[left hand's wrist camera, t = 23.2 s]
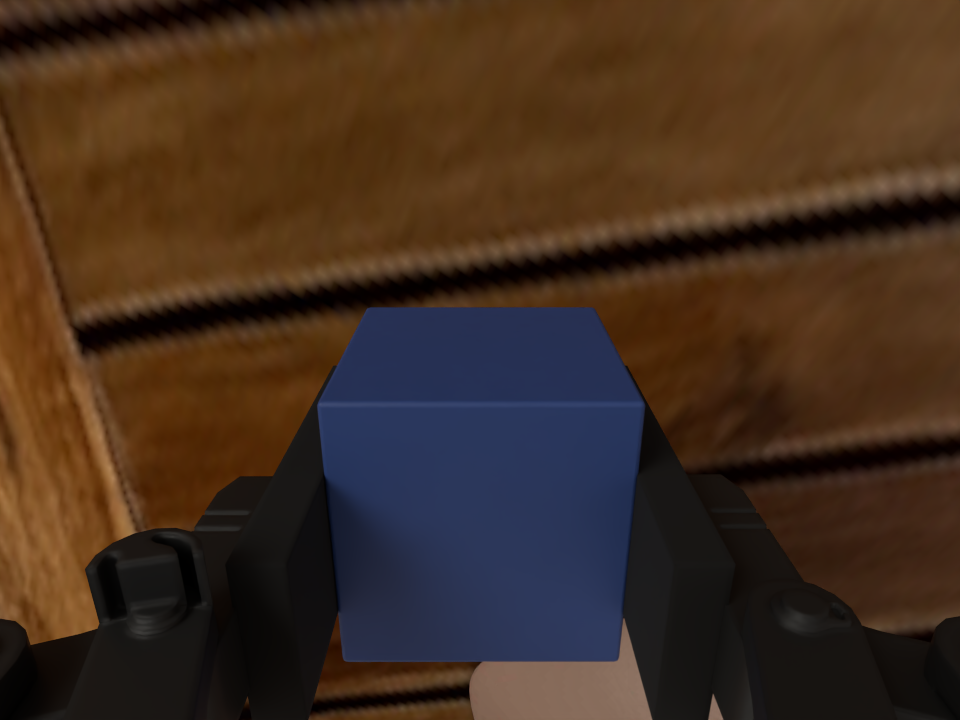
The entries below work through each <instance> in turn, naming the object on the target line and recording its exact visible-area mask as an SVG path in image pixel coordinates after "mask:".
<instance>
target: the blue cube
mask: <svg viewBox="0 0 960 720" xmlns="http://www.w3.org/2000/svg"><path fill="white" fill-rule="evenodd" d="M317 409H318V419H319V429H320V438H321V448H322V458H323V468H324V477H325V487H326V497H327V506H328V516H329V526H330V536H331V546H332V555H333V565H334V575H335V585H336V595H337V604H338V615H339V624H340V634H341V644H342V654H343V659H344V660H345V661H347V662H615V661H618V659H619V654H620V645H621V635H622V625H623V616H624V615H623V609H624V599H625V590H626V580H627V570H628V560H629V551H630V541H631V531H632V522H633V512H634V502H635V493H636V483H637V475H638V471H639V462H640V452H641V442H642V433H643V423H644V413H645V403H644V401H643V399H642V397H641V395H640V393H639V392H638V390H637V388H636V386H635V384H634V382H633V380H632V378H631V376H630V375H629V373H628V371H627V369H626V367H625V365H624V363H623V361H622V359H621V358H620V356H619V354H618V352H617V350H616V348H615V346H614V344H613V342H612V341H611V339H610V337H609V335H608V333H607V331H606V329H605V327H604V326H603V324H602V322H601V320H600V318H599V316H598V314H597V312H596V310H595V309H594V308H368V309H367V310H366V312H365V314H364V316H363V318H362V320H361V322H360V323H359V325H358V327H357V329H356V331H355V333H354V335H353V337H352V339H351V341H350V343H349V344H348V346H347V348H346V350H345V352H344V354H343V356H342V358H341V360H340V362H339V364H338V366H337V367H336V369H335V371H334V373H333V375H332V377H331V379H330V381H329V383H328V385H327V387H326V388H325V390H324V392H323V394H322V396H321V398H320V400H319V402H318V405H317Z"/></svg>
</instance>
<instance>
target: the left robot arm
mask: <svg viewBox="0 0 960 720" xmlns="http://www.w3.org/2000/svg"><path fill="white" fill-rule="evenodd" d="M336 367H337V366H333V368H332V369H331V371H330V373H329V375H328V377H327V379H326V380H325V382H324V384H323V386H322V388H321V390H320V391H319V393H318V395H317V397H316V399H315V401H314V402H313V404H312V406H311V408H310V410H309V412H308V413H307V415H306V417H305V419H304V421H303V423H302V424H301V426H300V428H299V430H298V432H297V433H296V435H295V437H294V439H293V441H292V443H291V444H290V446H289V448H288V450H287V452H286V454H285V455H284V457H283V459H282V461H281V463H280V465H279V466H278V468H277V470H276V472H275V474H274V476H240V477H239V478H237V479H236V480H234V481H233V482H232V483H230V484H229V485H228V486H226V487H225V488H223V489H222V490H221V491H219V492H218V493H217V494H216V496H215V497H214V499H213V500H212V502H211V503H210V505H209V506H208V508H207V509H206V511H205V515H202V517H201V518H200V520H199V521H198V523H197V524H196V526H195V530H194V531H192V532H190V531H186V530H182V529H178V528H158V529H152V530H148V531H143V532H139V533H135V534H132V535H130V536H128V537H125V538H123V539H121V540H118V541H116V542H114V543H112V544H111V545H109V546H108V547H107V548H105V549H104V550H102V551H101V552H100V553H98V554H97V555H95V557H94V558H93V559H92V561H91V562H90V563H89V565H88V566H87V567H86V568H85V571H86V575H87V579H88V582H89V586H90V590H91V593H92V597H93V601H94V605H95V608H96V612H97V616H98V619H99V623H100V624H99V626H98V629H95V630H92V631H88V632H85V633H82V634H78V635H73V636H69V637H65V638H60V639H56V640H51V641H47V642H43V643H38V644H34V645H30V642H29V639H28V636H27V633H26V630H25V629H24V628H23V627H22V626H21V625H19V624H18V623H17V622H16V621H11V620H5V619H0V720H239V717H240V714H241V712H242V709H243V707H244V704H245V702H246V699H247V696H248V699H249V705H250V711H251V717H252V720H308V719H309V715H310V711H311V708H312V704H313V700H314V697H315V693H316V690H317V686H318V682H319V679H320V675H321V671H322V668H323V664H324V661H325V657H326V653H327V650H328V646H329V642H330V639H331V635H332V632H333V628H334V624H335V621H336V617H337V613H338V604H337V595H336V585H335V575H334V565H333V555H332V546H331V536H330V526H329V516H328V506H327V497H326V487H325V477H324V468H323V458H322V448H321V438H320V429H319V419H318V409H317V405H318V402H319V400H320V398H321V396H322V394H323V392H324V390H325V388H326V387H327V385H328V383H329V381H330V379H331V377H332V375H333V373H334V371H335V369H336ZM625 367H626V369H627V371H628V373H629V375H630V376H631V378H632V380H633V382H634V384H635V386H636V388H637V390H638V392H639V393H640V395H641V397H642V399H643V401H644V403H645V413H644V423H643V433H642V442H641V452H640V462H639V471H638V475H637V483H636V493H635V502H634V512H633V522H632V531H631V541H630V551H629V560H628V570H627V580H626V590H625V599H624V609H623V615H624V619H625V623H626V626H627V630H628V634H629V637H630V641H631V644H632V648H633V652H634V655H635V659H636V663H637V666H638V670H639V673H640V677H641V681H642V684H643V688H644V692H645V695H646V699H647V702H648V706H649V710H650V713H651V717H652V720H708V719H709V714H710V708H711V702H712V696H713V694H714V697H715V700H716V702H717V705H718V707H719V710H720V712H721V715H722V718H723V720H960V616H959V617H953V618H946V619H945V620H944V621H943V622H941V623H940V624H939V625H938V626H937V627H936V629H935V632H934V635H933V638H932V641H931V643H930V642H925V641H921V640H917V639H912V638H908V637H903V636H899V635H895V634H890V633H886V632H881V631H878V630H875V629H871V628H868V627H865V626H862V625H861V623H860V621H859V620H858V618H857V617H856V615H855V614H854V612H853V610H852V609H851V608H850V607H849V606H848V605H847V604H845V603H844V602H843V601H842V600H841V599H839V598H838V597H837V596H836V595H834V594H832V593H830V592H828V591H826V590H824V589H822V588H820V587H818V586H816V585H814V584H810V583H806V582H804V581H803V579H802V578H801V576H800V575H799V573H798V572H797V570H796V569H795V567H794V566H793V564H792V563H791V561H790V560H789V558H788V557H787V555H786V554H785V552H784V551H783V549H782V548H781V546H780V545H779V543H778V542H777V540H776V539H775V537H774V536H773V534H772V533H771V531H770V530H769V529H767V528H766V524H765V522H764V521H763V519H762V518H761V516H760V515H759V513H756V509H755V507H754V506H753V504H752V503H751V501H750V500H749V498H748V497H747V495H746V494H745V492H744V491H743V490H742V489H740V488H739V487H738V486H736V485H735V484H733V483H732V482H731V481H729V480H728V479H726V478H725V477H724V476H722V475H721V474H686V473H685V471H684V469H683V467H682V466H681V464H680V462H679V460H678V458H677V456H676V455H675V453H674V451H673V449H672V447H671V445H670V444H669V442H668V440H667V438H666V436H665V434H664V433H663V431H662V429H661V427H660V425H659V423H658V422H657V420H656V418H655V416H654V414H653V412H652V411H651V409H650V407H649V405H648V403H647V401H646V400H645V398H644V396H643V394H642V392H641V390H640V389H639V387H638V385H637V383H636V381H635V380H634V378H633V376H632V374H631V372H630V370H629V369H628V367H627V366H625Z"/></svg>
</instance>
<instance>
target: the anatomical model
mask: <svg viewBox="0 0 960 720" xmlns="http://www.w3.org/2000/svg"><path fill="white" fill-rule="evenodd" d="M469 691H470V701H471V708H472V712H473V716H474V720H652V717H651V713H650V710H649V706H648V702H647V699H646V695H645V692H644V688H643V684H642V681H641V677H640V673H639V670H638V666H637V663H636V659H635V655H634V652H633V648H632V644H631V641H630V637H629V634H628V630H627V626H626V623H625V619H624V618H623V625H622V635H621V645H620V654H619V659H618V661H615V662H481V663H480V665H479V666H478V667H477V668H476V669H475V671H474V672H473V674H472V676H471V680H470V688H469ZM708 720H723V718H722V715H721V712H720V710H719V707H718V705H717V702H716V700H715V697H714V694H713V696H712V702H711V708H710V714H709V719H708Z"/></svg>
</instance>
